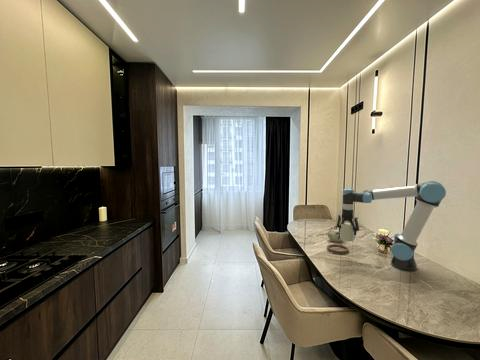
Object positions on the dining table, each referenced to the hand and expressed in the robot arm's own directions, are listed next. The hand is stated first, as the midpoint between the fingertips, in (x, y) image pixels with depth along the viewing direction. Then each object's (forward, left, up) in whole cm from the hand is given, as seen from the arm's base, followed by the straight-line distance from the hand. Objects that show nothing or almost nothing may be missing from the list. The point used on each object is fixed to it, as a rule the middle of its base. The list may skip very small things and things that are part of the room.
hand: (347, 237), depth 172 cm
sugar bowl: (+29, -37, -18) cm, 50 cm away
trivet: (+15, -14, -18) cm, 27 cm away
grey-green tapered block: (0, 0, -1) cm, 1 cm away
